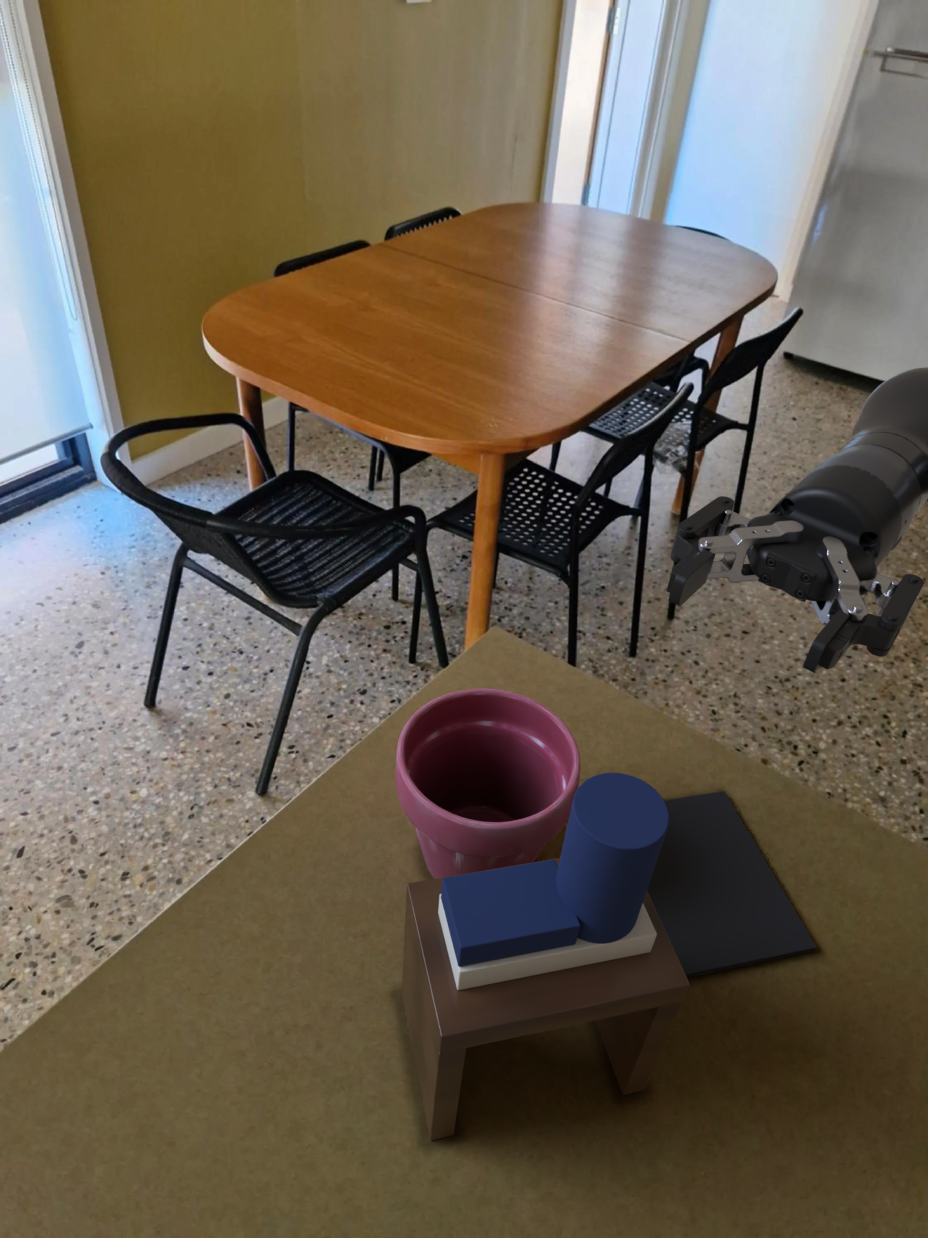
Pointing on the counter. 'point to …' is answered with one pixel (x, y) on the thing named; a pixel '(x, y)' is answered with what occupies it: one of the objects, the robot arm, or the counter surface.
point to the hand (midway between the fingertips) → (742, 624)
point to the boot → (562, 892)
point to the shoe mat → (720, 891)
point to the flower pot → (485, 779)
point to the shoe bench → (529, 1006)
